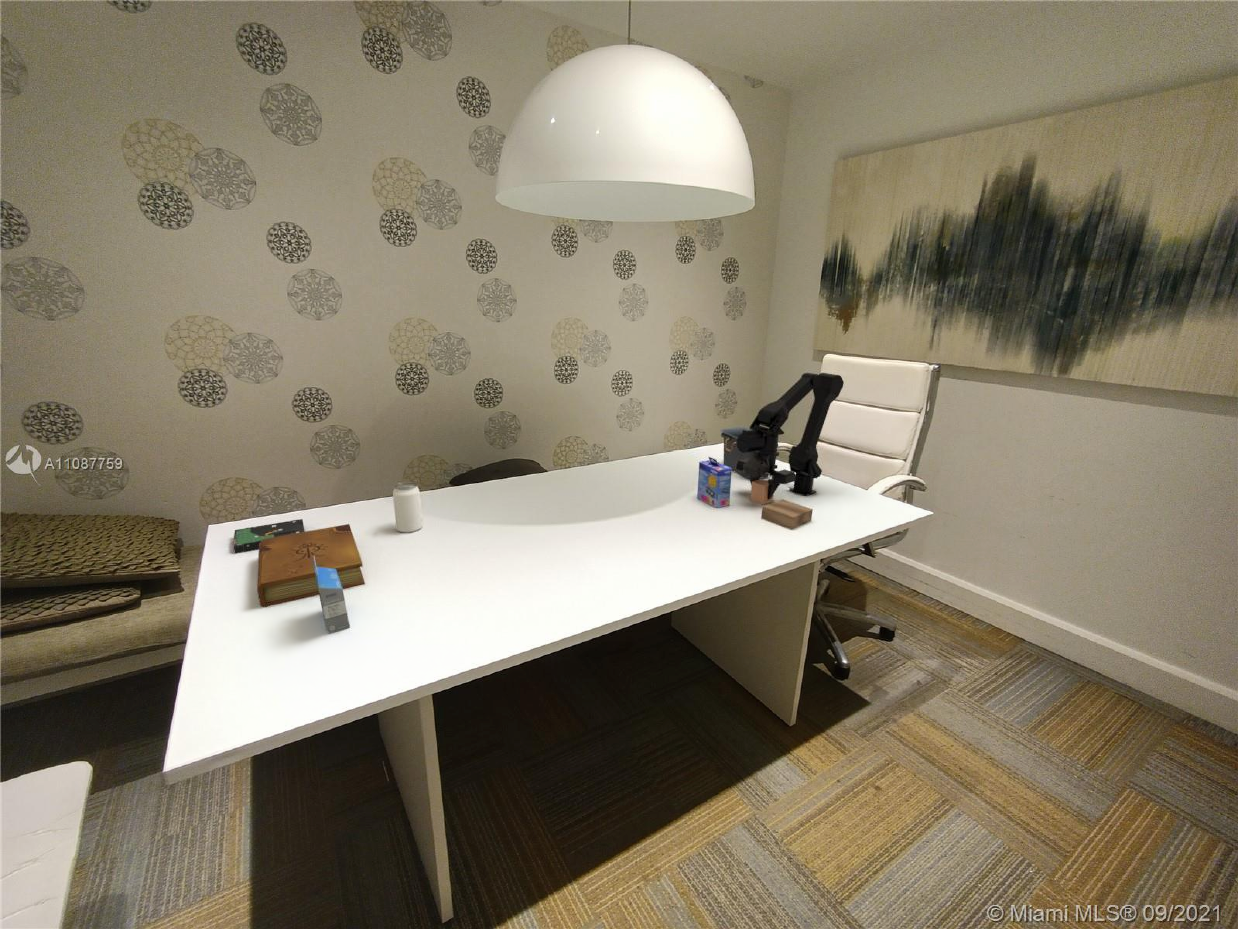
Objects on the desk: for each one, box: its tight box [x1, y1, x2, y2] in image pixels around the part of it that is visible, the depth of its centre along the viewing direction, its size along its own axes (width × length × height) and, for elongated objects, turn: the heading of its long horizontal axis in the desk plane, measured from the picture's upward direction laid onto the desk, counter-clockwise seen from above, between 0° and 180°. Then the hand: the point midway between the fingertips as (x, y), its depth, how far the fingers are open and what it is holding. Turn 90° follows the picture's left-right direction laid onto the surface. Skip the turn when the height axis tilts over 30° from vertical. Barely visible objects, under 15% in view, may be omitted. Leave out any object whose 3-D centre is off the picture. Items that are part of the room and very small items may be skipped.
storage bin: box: [720, 426, 781, 480], centre depth 194 cm, size 21×16×14 cm
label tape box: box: [314, 555, 351, 634], centre depth 100 cm, size 9×4×12 cm, turn 33°
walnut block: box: [760, 499, 813, 530], centre depth 154 cm, size 10×10×4 cm
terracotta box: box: [749, 478, 775, 505], centre depth 168 cm, size 5×5×6 cm
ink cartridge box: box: [696, 456, 733, 509], centre depth 164 cm, size 10×6×14 cm, turn 30°
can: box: [392, 481, 423, 534], centre depth 140 cm, size 6×6×12 cm
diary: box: [256, 523, 366, 608], centre depth 118 cm, size 23×19×6 cm
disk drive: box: [232, 518, 306, 555], centre depth 133 cm, size 10×3×15 cm
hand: (761, 496), depth 169 cm, fingers closed on terracotta box, 5 cm apart
